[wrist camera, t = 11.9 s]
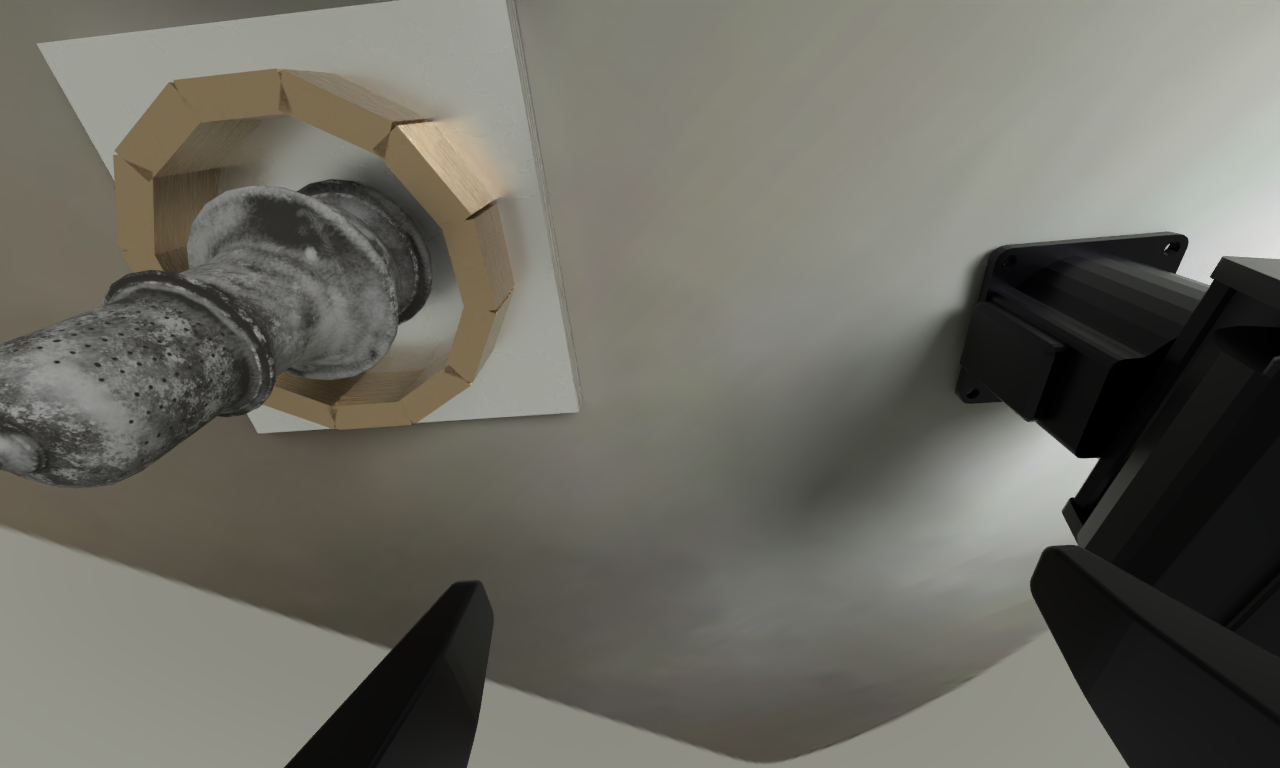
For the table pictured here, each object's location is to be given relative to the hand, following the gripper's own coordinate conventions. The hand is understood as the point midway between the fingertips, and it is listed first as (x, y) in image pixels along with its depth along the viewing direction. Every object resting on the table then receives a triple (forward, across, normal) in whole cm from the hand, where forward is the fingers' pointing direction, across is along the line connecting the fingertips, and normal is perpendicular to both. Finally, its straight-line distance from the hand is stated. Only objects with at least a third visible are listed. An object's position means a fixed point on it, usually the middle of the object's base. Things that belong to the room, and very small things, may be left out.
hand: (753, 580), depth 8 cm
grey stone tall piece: (+12, +12, -3) cm, 17 cm away
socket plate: (+13, +12, -3) cm, 18 cm away
